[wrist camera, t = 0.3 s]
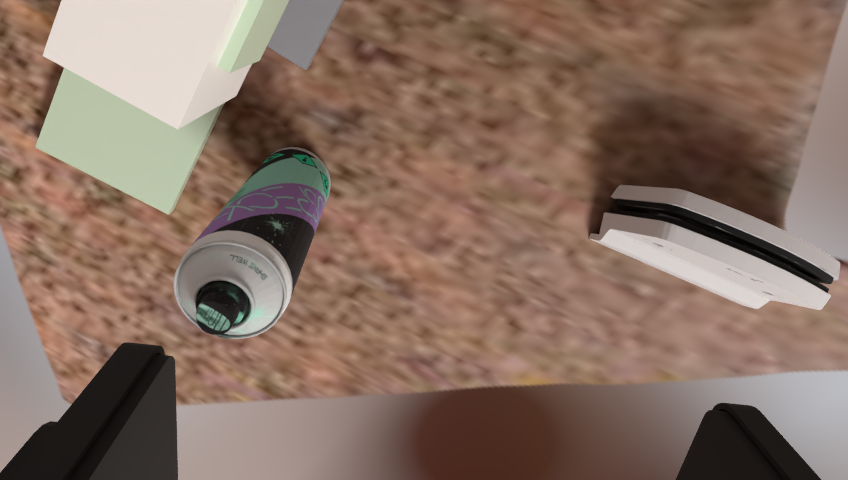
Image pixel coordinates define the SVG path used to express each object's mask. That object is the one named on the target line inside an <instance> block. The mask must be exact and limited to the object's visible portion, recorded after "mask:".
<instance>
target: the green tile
mask: <svg viewBox="0 0 848 480" xmlns="http://www.w3.org/2000/svg"><path fill="white" fill-rule="evenodd" d="M224 104H225V103H223V104H221V105H220V106H218V107H216V108H214V109H213V110H211V111H209V112H208V113H206V114H204V115H202V116H201V117H199V118H197V119H195V120H194V121H192V122H190V123H188V124H187V125H185V126H183V127H181V128H180V129H176V128H174V127H172V126H170V125H168V124H167V123H165V122H163V121H161V120H159V119H157V118H156V117H154V116H152V115H150V114H148V113H146V112H145V111H143V110H141V109H139V108H137V107H136V106H134V105H132V104H130V103H128V102H126V101H125V100H123V99H121V98H119V97H117V96H115V95H114V94H112V93H110V92H108V91H106V90H104V89H103V88H101V87H99V86H97V85H95V84H93V83H92V82H90V81H88V80H86V79H84V78H83V77H81V76H79V75H77V74H75V73H73V72H72V71H70V70H68V69H66V68H64V69H63V72H62V75H61V78H60V80H59V83H58V86H57V89H56V91H55V94H54V97H53V100H52V102H51V105H50V108H49V111H48V114H47V116H46V119H45V122H44V125H43V127H42V130H41V133H40V136H39V138H38V141H37V144H36V148H38V149H40V150H42V151H44V152H46V153H48V154H50V155H52V156H53V157H55V158H57V159H59V160H61V161H63V162H65V163H67V164H69V165H71V166H73V167H75V168H77V169H79V170H81V171H83V172H85V173H87V174H89V175H91V176H93V177H95V178H97V179H99V180H101V181H103V182H105V183H107V184H109V185H111V186H113V187H115V188H117V189H119V190H121V191H123V192H125V193H127V194H129V195H131V196H133V197H135V198H137V199H139V200H141V201H142V202H144V203H146V204H148V205H150V206H152V207H154V208H156V209H158V210H160V211H162V212H164V213H166V214H168V215H169V214H170V213H171V212H172V211H173V210H174V208H175V206H176V204H177V202H178V200H179V198H180V196H181V193H182V191H183V189H184V187H185V185H186V183H187V181H188V179H189V177H190V175H191V173H192V171H193V168H194V166H195V164H196V162H197V160H198V158H199V156H200V154H201V152H202V150H203V148H204V145H205V143H206V141H207V139H208V137H209V135H210V133H211V131H212V129H213V127H214V125H215V123H216V120H217V118H218V116H219V114H220V112H221V110H222V108H223V106H224Z"/></svg>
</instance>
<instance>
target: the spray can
mask: <svg viewBox="0 0 848 480" xmlns="http://www.w3.org/2000/svg"><path fill="white" fill-rule="evenodd" d="M330 187H331V180H330V175H329V172H328V170H327V167H326V166H325V164H324V163H323V161H322V160H321V159H320V158H319V157H318V156H316V155H315V154H314V153H312V152H310V151H308V150H306V149H302V148H299V147H287V148H282V149H279V150H277V151H275V152H273V153H272V154H271V155H269V156H268V157H267V158H266V159H265V160H264V161H263V163H262V164H261V165H260V166H259V167H258V168H257V170H256V171H255V172H254V173H253V174H252V175H251V177H250V178H249V179H248V180H247V181H246V182H245V184H244V185H243V186H242V187H241V188H240V189H239V191H238V192H237V193H236V194H235V195H234V196H233V197H232V199H231V200H230V201H229V202H228V203H227V204H226V206H225V207H224V208H223V209H222V210H221V211H220V213H219V214H218V215H217V216H216V217H215V218H214V220H213V221H212V222H211V223H210V224H209V225H208V227H207V228H206V229H205V230H204V231H203V232H202V234H201V235H200V236H199V237H198V238H197V239H196V241H195V242H194V243H193V244H192V245H191V246H190V248H189V249H188V250H187V251H186V253H185V254H184V256H183V257H182V259H181V262H180V264H179V265H178V267H177V270H176V273H175V275H174V284H173V286H174V294H175V297H176V300H177V303H178V305H179V307H180V308H181V310H182V312H183V313H184V314H185V315H186V317H187V318H188V319H189V320H190V321H191V322H192V323H194V324H195V325H196V326H197V327H199V328H201V329H202V330H203V331H205V332H206V333H209V334H213V335H216V336H219V337H224V338H230V339H242V338H249V337H253V336H256V335H259V334H261V333H263V332H265V331H267V330H268V329H269V328H271V327H272V326H273V325H274V324H275V323H276V322H277V320H278V319H279V318H280V316H281V314H282V313H283V312H284V311H285V309H286V307H287V305H288V303H289V301H290V298H291V295H292V293H293V290H294V287H295V284H296V282H297V279H298V276H299V274H300V271H301V268H302V266H303V263H304V260H305V258H306V255H307V252H308V250H309V247H310V244H311V242H312V239H313V236H314V234H315V231H316V228H317V225H318V223H319V220H320V217H321V215H322V212H323V209H324V207H325V204H326V201H327V199H328V196H329V192H330Z"/></svg>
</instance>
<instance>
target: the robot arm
mask: <svg viewBox="0 0 848 480" xmlns="http://www.w3.org/2000/svg"><path fill="white" fill-rule="evenodd" d="M176 425H177V422H176V381H175V360H174V357H172V356H166V355H165V353H164V349H163V347H161V346H157V345H147V344H137V343H127V342H126V343H123V344H122V345H121V346H120V347H119V348H118V349H117V350H116V351H115V352H114V354H113V355H112V356H111V357H110V359H109V360H108V361H107V362H106V363H105V365H104V366H103V367H102V368H101V370H100V371H99V372H98V373H97V374H96V376H95V377H94V378H93V379H92V381H91V382H90V383H89V384H88V385H87V387H86V388H85V389H84V390H83V391H82V393H81V394H80V395H79V396H78V398H77V399H76V400H75V401H74V402H73V404H72V405H71V406H70V407H69V409H68V410H67V411H66V412H65V414H64V415H63V416H62V417H61V418H60V420H59V421H58V422H48V423H46V424H44V425H42V426H41V427H40V428H39V429H38V430H37V431H36V432H35V433H34V434H33V435H32V436H31V437H30V439H29V440H28V441H27V442H26V443H25V444H24V446H23V447H22V448H21V449H20V450H19V451H18V453H17V454H16V455H15V456H14V457H13V459H12V460H11V461H10V462H9V463H8V464H7V466H6V467H5V468H4V469H3V470H2V472H1V473H0V480H178V466H177V465H178V463H177V426H176ZM676 480H821V479H820V478H819V477H818V476H817V474H816V473H815V472H814V471H813V470H812V469H811V468H810V467H809V465H808V464H807V463H806V462H805V461H804V460H803V459H802V458H801V456H800V455H799V454H798V453H797V452H796V451H795V450H794V449H793V448H792V447H791V445H790V444H789V443H788V442H787V441H786V440H785V439H784V438H783V436H782V435H781V434H780V433H779V432H778V431H777V430H776V429H775V427H774V426H773V425H772V424H771V423H770V422H769V421H768V420H767V418H766V417H765V416H764V415H763V414H762V413H761V412H760V411H759V410H758V409H757V408H755V407H753V406H748V405H739V404H729V403H720V404H717V405H716V406H714V408H713V410H709V411H708V412H706V414H705V415H704V417H703V419H702V422H701V424H700V426H699V429H698V431H697V433H696V435H695V437H694V440H693V442H692V444H691V446H690V449H689V451H688V453H687V456H686V458H685V460H684V462H683V464H682V467H681V469H680V471H679V474H678V476H677V478H676Z"/></svg>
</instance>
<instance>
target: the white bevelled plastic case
mask: <svg viewBox="0 0 848 480" xmlns="http://www.w3.org/2000/svg"><path fill="white" fill-rule="evenodd" d="M611 198H613V199H615V201H614V204H616V205H618V206H620V207H622V208H624V209H627V210H629V211H623V210H616V209H611V211H610V213H605V212H604V215H603V220H602V224H601V228H600V233H599V234H593V233H591V234H590V236H589V239H590V240H593V241H595V242H597V243H600V244H602V245H604V246H607V247H609V248H611V249H614V250H616V251H618V252H620V253H623V254H625V255H627V256H630V257H632V258H634V259H637V260H639V261H641V262H644V263H646V264H648V265H651V266H653V267H655V268H658V269H660V270H662V271H664V272H667V273H669V274H671V275H674V276H676V277H678V278H681V279H683V280H685V281H688V282H690V283H692V284H695V285H697V286H699V287H702V288H704V289H706V290H708V291H711V292H713V293H715V294H718V295H720V296H722V297H725V298H727V299H729V300H732V301H734V302H736V303H739V304H741V305H744V306H747V307H751V308H755V309H758V308H760V307H762V306H763V305H764V304H766V303H767V302H769V301H771V300H775V301H779V302H784V303H789V304H793V305H798V306H803V307H807V308H812V309H817V310H822V308H823V307H824V305H825V304H826V303H827V301H828V300H829V298H830V297H831V295H829V294H828V291H829V289H828V288H827V287H825V286H823V285H822V284H820V283H825V284H831V283H832V281H833V280H838V277H839V270H840V263H839V262H838V261H837V260H836V259H834V258H833V257H831V256H829V255H828V254H827V253H825V252H823V251H822V250H820V249H818V248H817V247H815V246H813V245H811V244H810V243H808V242H806V241H804V240H802V239H800V238H798V237H796V236H794V235H792V234H790V233H788V232H786V231H784V230H782V229H780V228H778V227H776V226H774V225H771V224H769V223H767V222H765V221H762V220H760V219H758V218H755V217H753V216H751V215H748V214H746V213H744V212H741V211H739V210H736V209H734V208H731V207H729V206H726V205H724V204H721V203H718V202H716V201H713V200H710V199H708V198H705V197H702V196H700V195H697V194H694V193H692V192H689V191H685V190H681V189H675V188H660V187H646V186H632V185H619V186H618V187H617V188H616V190H615V191H614V193H613V194H612V196H611ZM630 211H632V212H630Z"/></svg>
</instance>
